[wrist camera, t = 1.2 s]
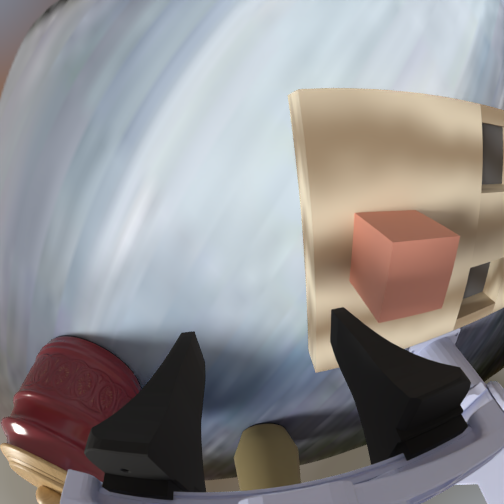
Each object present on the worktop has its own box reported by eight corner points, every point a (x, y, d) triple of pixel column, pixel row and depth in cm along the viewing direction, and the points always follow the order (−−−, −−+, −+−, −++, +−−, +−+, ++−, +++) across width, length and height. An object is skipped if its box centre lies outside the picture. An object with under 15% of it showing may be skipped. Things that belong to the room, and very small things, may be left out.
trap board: (530, 276, 26) (548, 290, 22) (308, 350, 26) (319, 385, 22) (549, 128, 17) (572, 134, 13) (287, 95, 17) (304, 85, 13)
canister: (122, 420, 30) (100, 534, 14) (38, 371, 26) (-11, 479, 10) (163, 376, 26) (140, 538, 10) (54, 310, 22) (-31, 455, 6)
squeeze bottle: (234, 446, 34) (242, 557, 17) (230, 419, 30) (238, 555, 14) (291, 442, 34) (311, 549, 18) (296, 414, 31) (325, 544, 14)
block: (406, 272, 20) (441, 308, 15) (349, 280, 19) (378, 323, 15) (415, 209, 18) (460, 235, 13) (354, 212, 17) (392, 242, 13)
